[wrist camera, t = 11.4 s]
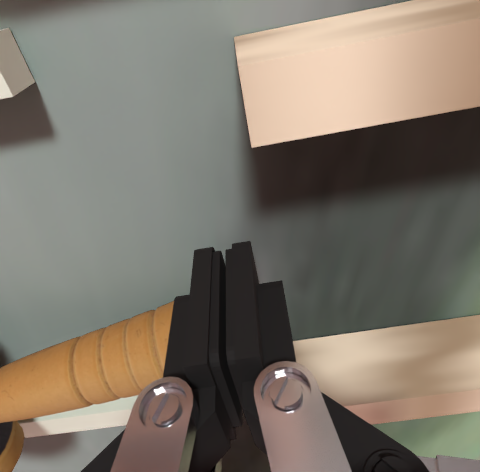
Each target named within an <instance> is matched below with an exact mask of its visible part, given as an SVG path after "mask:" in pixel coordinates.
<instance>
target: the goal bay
mask: <svg viewBox="0 0 480 472" xmlns="http://www.w3.org/2000/svg"><path fill="white" fill-rule="evenodd" d="M33 83H35V81H34V79H33V77H32V75H31V73H30V71H29V69H28V66H27V64H26V62H25V60H24V58H23V56H22V54H21V52H20V50H19V48H18V46H17V43H16V41H15V39H14V37H13V35H12V33H11V31H10V29H9V28H7V29H2V30H0V99H4V98H9V97H13V96H15V95H16V94H18V93H20V92H21V91H23V90H24V89H26V88H27V87H29V86H30V85H32V84H33ZM137 397H138V395H136V396H132V397H127V398H120V399H118V400H114V401H110V402H106V403H102V404H93V405H91V406H88V407H84V408H80V409H75V410H71V411H66V412H61V413H57V414H52V415H47V416H42V417H37V418H30V419H25V420H18V423H19V424H20V426H21V427H22V428H23V432H24V437H25V438H29V437H37V436H45V435H53V434H60V433H68V432H76V431H83V430H91V429H99V428H107V427H114V426H122V425H127V422H128V420H129V417H130V414H131V411H132V408H133V405H134V403H135V401H136V399H137Z"/></svg>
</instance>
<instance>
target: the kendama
mask: <svg viewBox="0 0 480 472" xmlns="http://www.w3.org/2000/svg"><path fill="white" fill-rule="evenodd" d="M173 304H174V301H173V302H170V303H168V304H165V305H163V306H160V307H158V308H157V309H156V310H150V311H147V312H144V313H142V314H139V315H137V316H134V317H132V318H131V319H126V320H123V321H121V322H118V323H115V324H113V325H110V326H108V327H106V328H101V329H99V330H96V331H93V332H90V333H87V334H85V335H83V336H82V337H76V338H73V339H71V340H68V341H65V342H62V343H60V344H57V345H54V346H51V347H49V348H46V349H43V350H41V351H38V352H36V353H33V354H31V355H28V356H26V357H24V358H21V359H19V360H16V361H14V362H12V363H10V364H7V365H5V366H3V367H1V368H0V472H12V470H13V469H14V467H15V465H16V463H17V461H18V459H19V457H20V455H21V452H22V448H23V442H24V438H25V437H24V432H23V428H22V427H21V426H20V424H19V423H18V420H25V419H30V418H37V417H42V416H47V415H52V414H57V413H61V412H66V411H71V410H75V409H80V408H84V407H88V406H91V405H93V404H102V403H106V402H110V401H114V400H118V399H120V398H127V397H132V396H136V395H139V394H140V393H141V392H142V390H143V389H144V388H145V387H146V386H148V385H149V384H150V383H152V382H153V381H155V380H158V379H160V378H163V373H164V366H165V359H166V352H167V345H168V338H169V332H170V325H171V318H172V311H173Z"/></svg>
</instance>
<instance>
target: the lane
mask: <svg viewBox="0 0 480 472" xmlns="http://www.w3.org/2000/svg"><path fill="white" fill-rule="evenodd" d="M234 41H235V48H236V56H237V63H238V69H239V75H240V81H241V87H242V93H243V99H244V105H245V111H246V117H247V123H248V129H249V135H250V141H251V147H252V148H253V147H259V146H264V145H270V144H275V143H281V142H286V141H292V140H297V139H303V138H308V137H314V136H319V135H325V134H330V133H336V132H341V131H347V130H352V129H358V128H363V127H369V126H374V125H380V124H385V123H391V122H396V121H402V120H407V119H413V118H418V117H424V116H429V115H435V114H440V113H446V112H451V111H457V110H463V109H468V108H474V107H479V106H480V0H412V1H407V2H403V3H398V4H393V5H388V6H383V7H378V8H373V9H368V10H363V11H359V12H354V13H349V14H344V15H339V16H334V17H329V18H324V19H319V20H314V21H310V22H305V23H300V24H295V25H290V26H285V27H280V28H275V29H270V30H266V31H261V32H256V33H251V34H246V35H241V36H236V37H234ZM293 345H294V351H295V357H296V362H297V363H298V364H301V365H303V366H305V367H306V368H307V369H308V370H309V371H310V372H312V374H313V376H314V378H315V379H316V381H317V384H318V386H319V389H320V391H321V392H322V393H324V394H325V395H327V396H328V397H330V398H331V399H333V400H334V401H336V402H337V403H339V404H340V405H342V406H343V407H345V408H347V409H348V410H350V411H351V412H353V413H354V414H356V415H357V416H359V417H360V418H362V419H363V420H365V421H366V422H368V423H369V424H379V423H387V422H395V421H403V420H411V419H419V418H427V417H435V416H444V415H452V414H460V413H468V412H476V411H480V315H475V316H468V317H461V318H454V319H447V320H440V321H432V322H425V323H418V324H411V325H404V326H397V327H390V328H383V329H376V330H369V331H362V332H355V333H348V334H341V335H334V336H327V337H320V338H313V339H305V340H298V341H293Z"/></svg>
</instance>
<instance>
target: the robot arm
mask: <svg viewBox="0 0 480 472" xmlns="http://www.w3.org/2000/svg"><path fill="white" fill-rule="evenodd" d="M242 409H243V412H244V415H245V418H246V421H247V424H248V425H249V428H250V431H251V434H252V437H253V440H254V443H255V445H256V446H257V447H258V448H259V449H261V450H262V451H263V452H264V453H265V454H266V455H267V456H268V459H269V463H270V468H271V472H480V460H473V459H465V458H457V457H450V456H442V455H437V456H436V458H429V457H421V456H416V455H415V454H414V453H412V452H411V451H410V450H408V449H407V448H405V447H404V446H402V445H401V444H399V443H398V442H396V441H395V440H393V439H392V438H390V437H389V436H387V435H386V434H384V433H383V432H381V431H380V430H378V429H377V428H375V427H374V426H372V425H371V424H369V423H368V422H366V421H365V420H363V419H362V418H360V417H359V416H357V415H356V414H354V413H353V412H351V411H350V410H348V409H347V408H345V407H343V406H342V405H340V404H339V403H337V402H336V401H334V400H333V399H331V398H330V397H328V396H327V395H325V394H324V393H322V392H321V391H320V389H319V386H318V384H317V381H316V379H315V378H314V376H313V374H312V372H310V371H309V370H308V369H307V368H306V367H305V366H303V365H301V364H298V363H297V362H296V357H295V351H294V345H293V340H292V334H291V328H290V323H289V317H288V312H287V306H286V300H285V295H284V289H283V283H282V281H276V282H269V283H263V284H259V281H258V276H257V271H256V267H255V262H254V257H253V252H252V247H251V243H250V241H247V242H241V243H234V244H232V249H228V250H226V267H225V263H224V260H223V256H222V252H221V251H215V250H214V248H213V247H210V248H204V249H197V250H195V251H194V258H193V268H192V278H191V288H190V295H184V296H178V297H176V298H175V300H174V304H173V311H172V318H171V325H170V332H169V338H168V345H167V352H166V359H165V366H164V373H163V378H160V379H158V380H155V381H153V382H152V383H150V384H149V385H148V386H146V387H145V388H144V389H143V390H142V392H141V393H140V394H139V395H138V397H137V399H136V401H135V403H134V405H133V408H132V411H131V414H130V417H129V420H128V422H127V425H126V428H125V430H124V431H123V432H122V433H121V434H120V435H119V436H117V437H116V438H115V439H114V440H113V441H112V442H111V443H110V444H109V445H108V446H107V447H106V448H105V449H104V450H103V451H102V452H101V453H100V454H99V455H98V456H97V457H96V458H95V459H94V460H93V461H91V462H90V463H89V464H88V465H87V466H86V467H85V468H84V469H83V470H82V471H81V472H221V469H222V457H223V456H224V455H225V453H226V452H227V451H228V450H229V449H230V440H234V439H236V427H239V426H242V424H243V418H242Z"/></svg>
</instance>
